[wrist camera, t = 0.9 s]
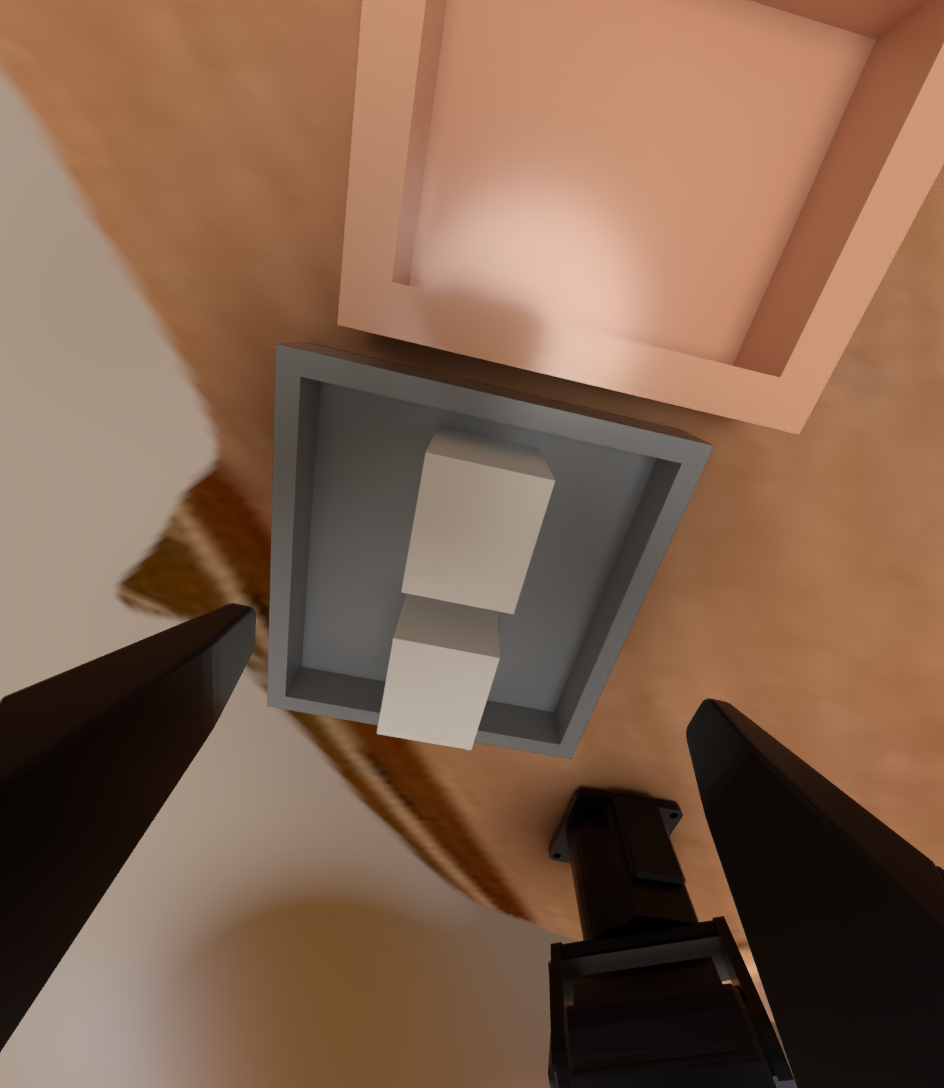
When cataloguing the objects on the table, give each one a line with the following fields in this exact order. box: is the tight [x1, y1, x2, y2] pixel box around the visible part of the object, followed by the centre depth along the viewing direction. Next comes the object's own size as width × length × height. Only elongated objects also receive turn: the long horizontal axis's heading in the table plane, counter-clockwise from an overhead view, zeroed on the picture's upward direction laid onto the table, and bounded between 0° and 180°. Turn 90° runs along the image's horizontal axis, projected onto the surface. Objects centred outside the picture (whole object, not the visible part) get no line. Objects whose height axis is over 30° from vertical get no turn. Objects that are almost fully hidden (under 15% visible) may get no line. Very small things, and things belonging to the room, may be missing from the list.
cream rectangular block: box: [401, 427, 555, 614], centre depth 16 cm, size 5×4×4 cm
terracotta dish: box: [337, 0, 944, 434], centre depth 12 cm, size 11×14×4 cm
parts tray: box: [267, 342, 714, 759], centre depth 19 cm, size 16×15×3 cm
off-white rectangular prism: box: [377, 593, 500, 750], centre depth 19 cm, size 5×4×4 cm
